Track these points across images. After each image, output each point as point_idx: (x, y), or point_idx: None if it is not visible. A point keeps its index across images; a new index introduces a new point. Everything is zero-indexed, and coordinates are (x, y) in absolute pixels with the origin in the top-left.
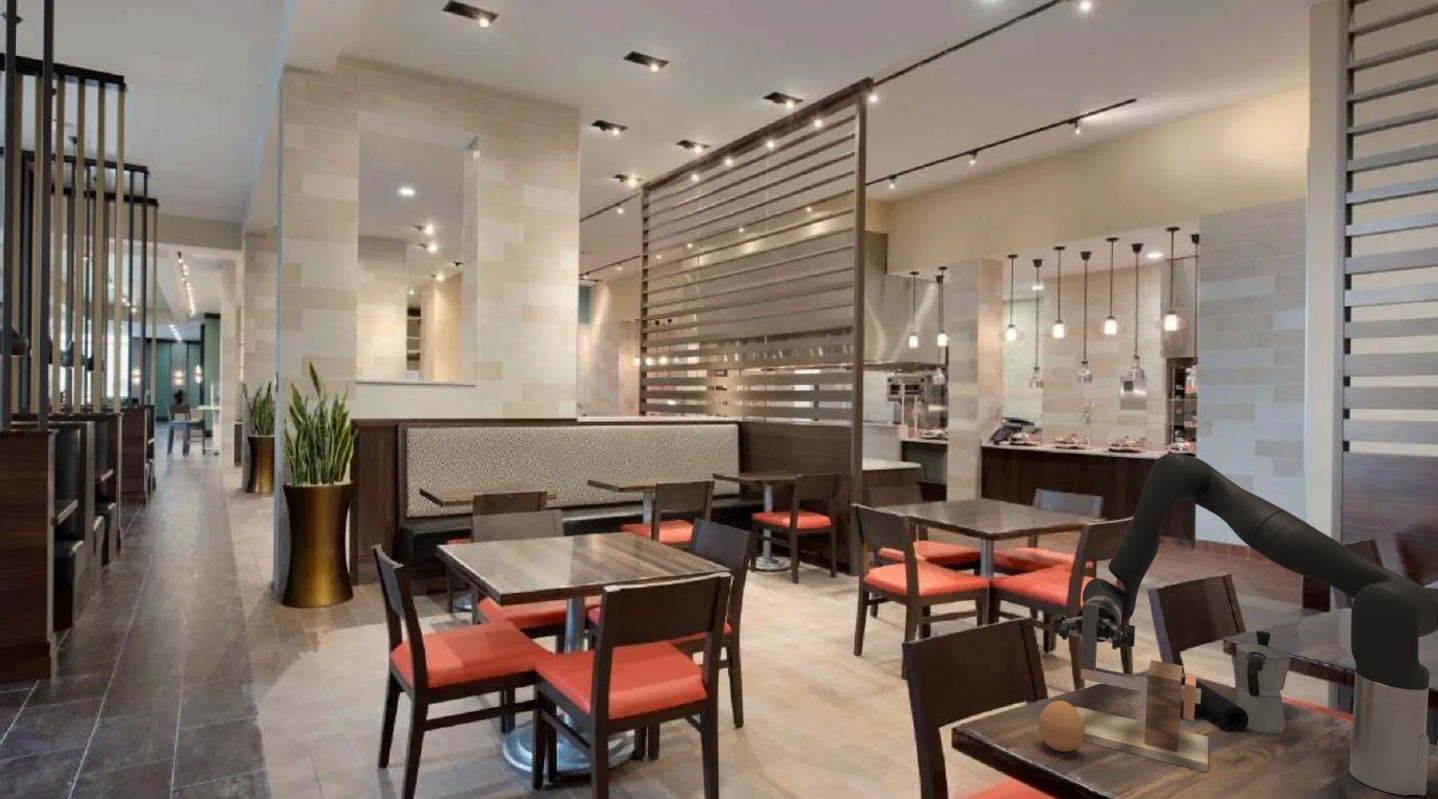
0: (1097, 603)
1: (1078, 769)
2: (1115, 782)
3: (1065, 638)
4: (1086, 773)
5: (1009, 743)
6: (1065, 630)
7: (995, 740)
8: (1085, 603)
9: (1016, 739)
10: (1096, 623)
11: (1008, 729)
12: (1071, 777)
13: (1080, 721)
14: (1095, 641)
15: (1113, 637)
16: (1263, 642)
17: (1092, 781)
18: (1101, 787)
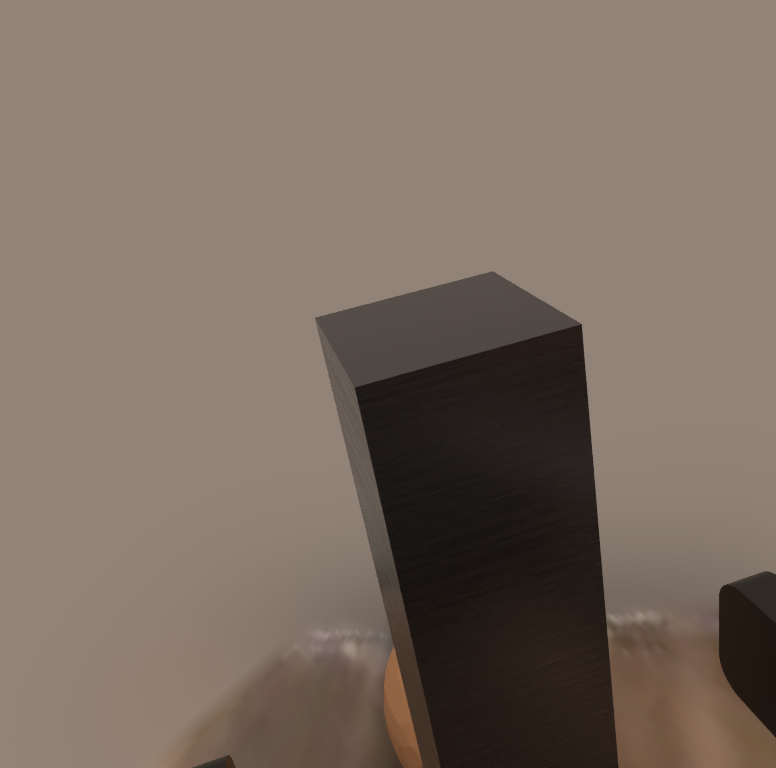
0: (374, 379)
1: (372, 695)
2: (249, 718)
3: (724, 658)
4: (342, 694)
5: (637, 658)
6: (728, 586)
7: (680, 637)
8: (493, 293)
9: (654, 704)
10: (366, 528)
11: (756, 753)
12: (367, 638)
13: (389, 675)
14: (405, 691)
15: (217, 763)
16: None
17: (310, 667)
18: (278, 659)
